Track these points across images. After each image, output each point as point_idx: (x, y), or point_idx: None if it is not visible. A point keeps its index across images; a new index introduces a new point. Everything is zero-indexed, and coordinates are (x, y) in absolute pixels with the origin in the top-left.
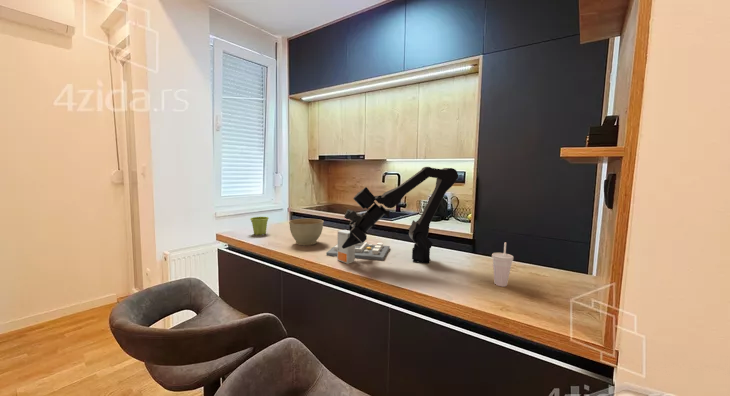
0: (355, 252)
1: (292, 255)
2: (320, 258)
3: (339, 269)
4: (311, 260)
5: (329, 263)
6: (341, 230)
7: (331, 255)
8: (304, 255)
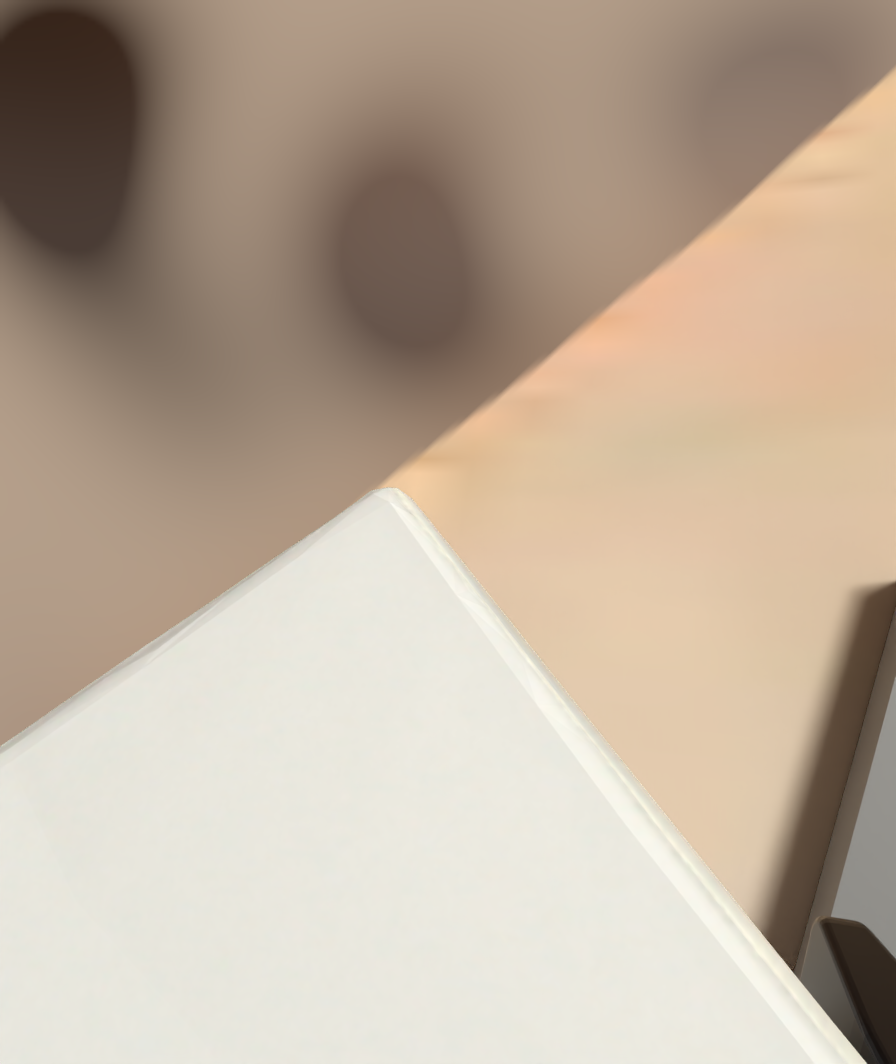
0: None
1: (867, 94)
2: (691, 471)
3: None
4: (586, 344)
5: None
6: (527, 792)
7: (878, 679)
8: (877, 233)
